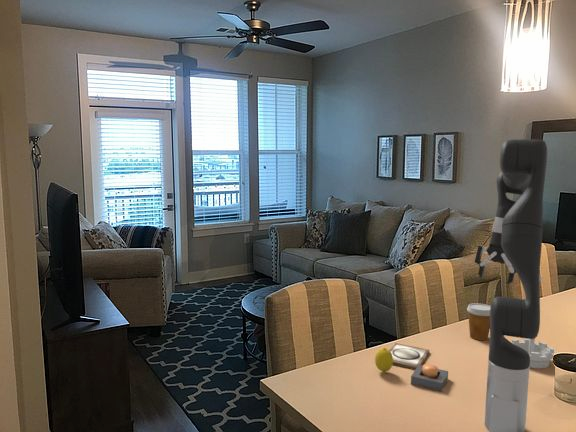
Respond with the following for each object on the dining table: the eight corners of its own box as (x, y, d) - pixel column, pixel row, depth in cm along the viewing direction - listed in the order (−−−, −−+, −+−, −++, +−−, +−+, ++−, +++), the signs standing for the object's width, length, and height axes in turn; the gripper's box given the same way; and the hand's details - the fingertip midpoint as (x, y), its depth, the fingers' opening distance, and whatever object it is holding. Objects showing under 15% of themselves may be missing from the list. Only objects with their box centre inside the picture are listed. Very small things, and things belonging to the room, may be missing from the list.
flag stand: (514, 350, 166) (520, 267, 163) (556, 360, 158) (563, 273, 155) (504, 362, 156) (509, 274, 153) (548, 373, 148) (555, 280, 145)
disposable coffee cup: (498, 340, 175) (500, 309, 174) (478, 343, 172) (480, 311, 171) (479, 331, 184) (480, 301, 183) (459, 334, 181) (461, 304, 179)
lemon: (372, 373, 147) (373, 349, 146) (377, 367, 152) (378, 343, 151) (389, 377, 144) (390, 352, 143) (394, 370, 149) (395, 346, 148)
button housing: (441, 391, 136) (442, 383, 136) (410, 384, 140) (411, 376, 140) (447, 378, 144) (448, 371, 144) (418, 372, 148) (418, 364, 148)
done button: (435, 379, 139) (436, 371, 139) (420, 376, 141) (421, 368, 141) (438, 373, 143) (439, 366, 142) (424, 370, 145) (424, 363, 145)
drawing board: (417, 370, 150) (418, 366, 150) (381, 362, 156) (381, 358, 155) (429, 352, 164) (429, 349, 163) (395, 345, 169) (395, 342, 169)
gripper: (479, 228, 155) (469, 276, 156) (526, 236, 147) (516, 287, 148) (484, 228, 161) (475, 274, 162) (529, 236, 153) (520, 285, 154)
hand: (494, 280), depth 155 cm, fingers open, 8 cm apart
